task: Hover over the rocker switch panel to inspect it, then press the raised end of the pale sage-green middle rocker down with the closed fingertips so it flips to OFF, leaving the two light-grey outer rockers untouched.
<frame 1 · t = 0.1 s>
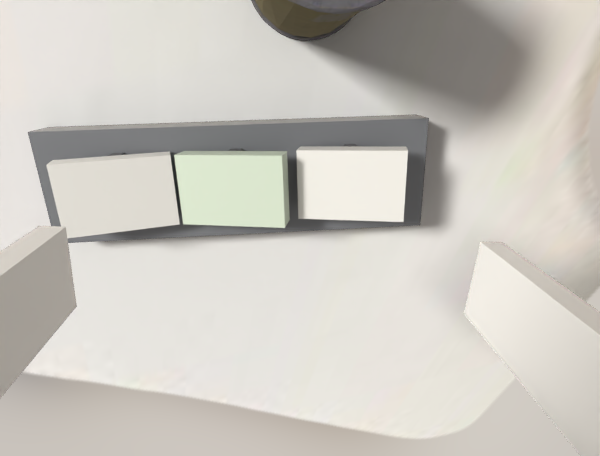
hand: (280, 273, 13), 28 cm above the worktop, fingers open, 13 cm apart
rocker 1: (118, 193, 34), point 6 cm above the worktop, hinge at -14.0°
rocker switch panel: (240, 173, 40), on the worktop
rocker 2: (351, 183, 36), point 6 cm above the worktop, hinge at 14.0°
rocker mid: (233, 188, 35), point 6 cm above the worktop, hinge at 14.0°
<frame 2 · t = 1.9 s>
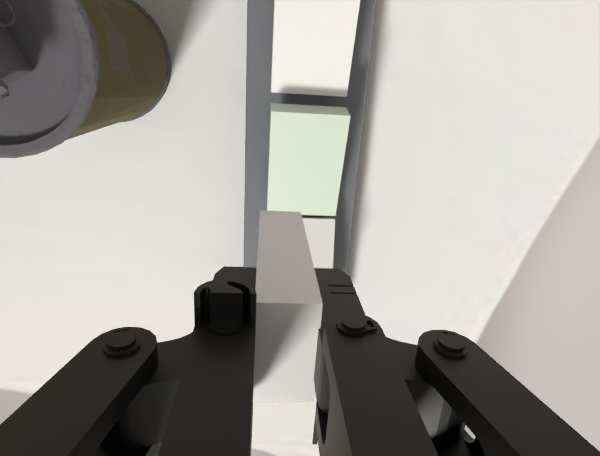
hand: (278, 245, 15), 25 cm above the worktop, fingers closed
rocker 1: (298, 266, 38), point 6 cm above the worktop, hinge at -14.0°
rocker switch panel: (299, 148, 40), on the worktop
rocker 2: (313, 29, 31), point 6 cm above the worktop, hinge at 14.0°
rocker mid: (305, 162, 34), point 6 cm above the worktop, hinge at 14.0°
canister: (107, 57, 36), on the worktop
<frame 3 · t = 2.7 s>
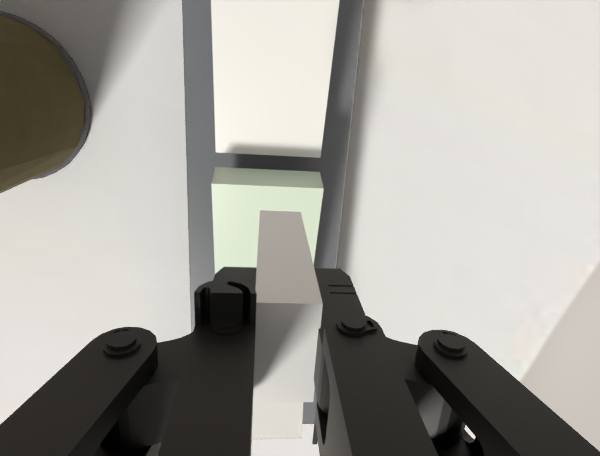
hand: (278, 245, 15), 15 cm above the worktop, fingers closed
rocker 1: (260, 369, 29), point 6 cm above the worktop, hinge at -14.0°
rocker switch panel: (264, 210, 31), on the worktop
rocker 2: (272, 69, 22), point 6 cm above the worktop, hinge at 14.0°
rocker mid: (265, 242, 25), point 6 cm above the worktop, hinge at 14.0°
canister: (6, 96, 27), on the worktop
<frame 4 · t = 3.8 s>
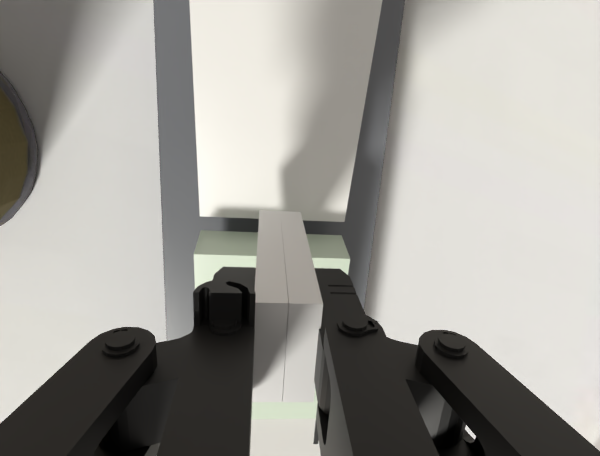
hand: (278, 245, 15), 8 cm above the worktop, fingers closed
rocker switch panel: (266, 274, 24), on the worktop
rocker 2: (279, 103, 16), point 6 cm above the worktop, hinge at 14.0°
rocker mid: (267, 331, 19), point 6 cm above the worktop, hinge at 7.5°, touching gripper
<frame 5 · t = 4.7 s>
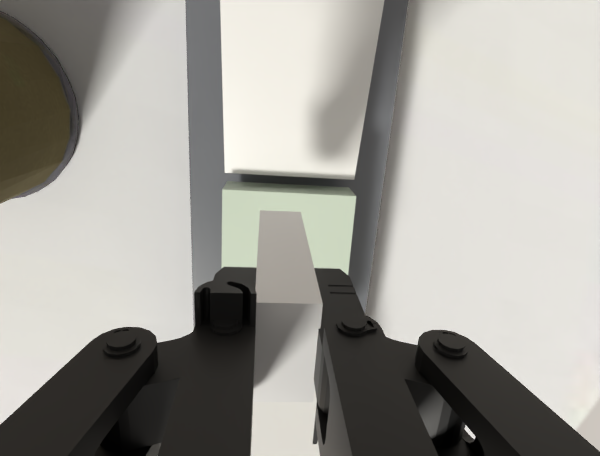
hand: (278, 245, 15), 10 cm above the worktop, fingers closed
rocker 1: (275, 427, 24), point 6 cm above the worktop, hinge at -14.0°
rocker switch panel: (282, 235, 26), on the worktop
rocker 2: (296, 69, 17), point 6 cm above the worktop, hinge at 14.0°
rocker mid: (284, 276, 21), point 6 cm above the worktop, hinge at -3.1°
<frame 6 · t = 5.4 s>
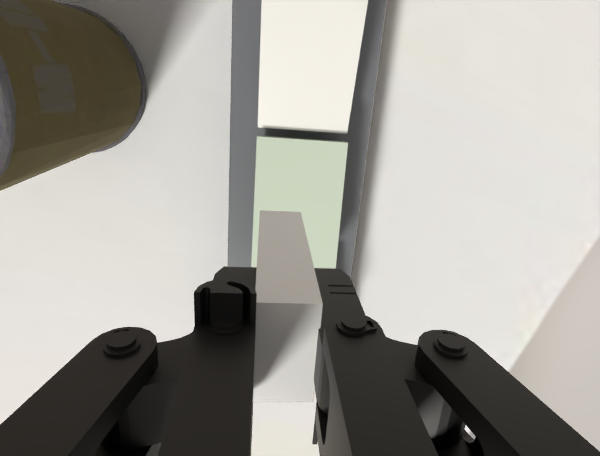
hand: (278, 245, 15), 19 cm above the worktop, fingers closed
rocker switch panel: (293, 184, 35), on the worktop
rocker 2: (308, 55, 26), point 6 cm above the worktop, hinge at 14.0°
rocker mid: (297, 203, 29), point 6 cm above the worktop, hinge at -5.0°
canister: (74, 79, 31), on the worktop
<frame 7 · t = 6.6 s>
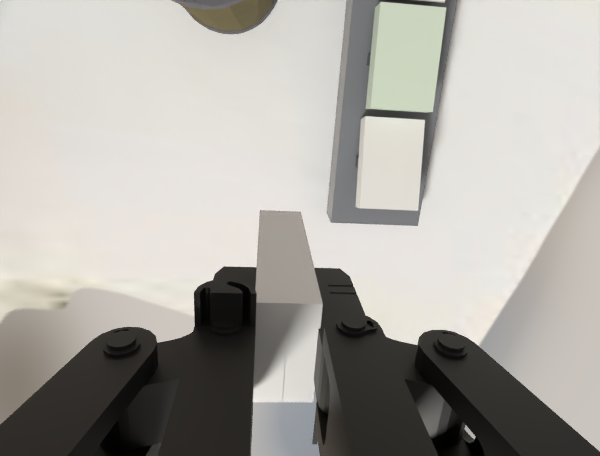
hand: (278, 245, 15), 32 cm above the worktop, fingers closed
rocker 1: (389, 164, 42), point 6 cm above the worktop, hinge at -14.0°
rocker switch panel: (387, 63, 44), on the worktop
rocker mid: (404, 60, 39), point 6 cm above the worktop, hinge at -6.2°
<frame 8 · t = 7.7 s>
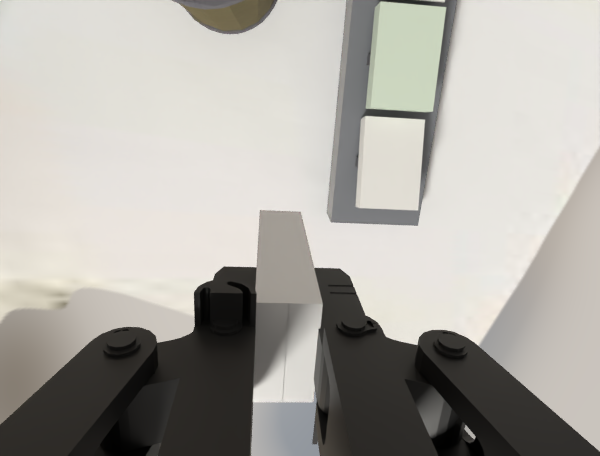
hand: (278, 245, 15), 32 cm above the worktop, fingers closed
rocker 1: (389, 164, 42), point 6 cm above the worktop, hinge at -14.0°
rocker switch panel: (387, 63, 44), on the worktop
rocker mid: (404, 60, 39), point 6 cm above the worktop, hinge at -6.5°
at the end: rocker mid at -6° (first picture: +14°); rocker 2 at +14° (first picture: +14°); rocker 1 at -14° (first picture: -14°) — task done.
